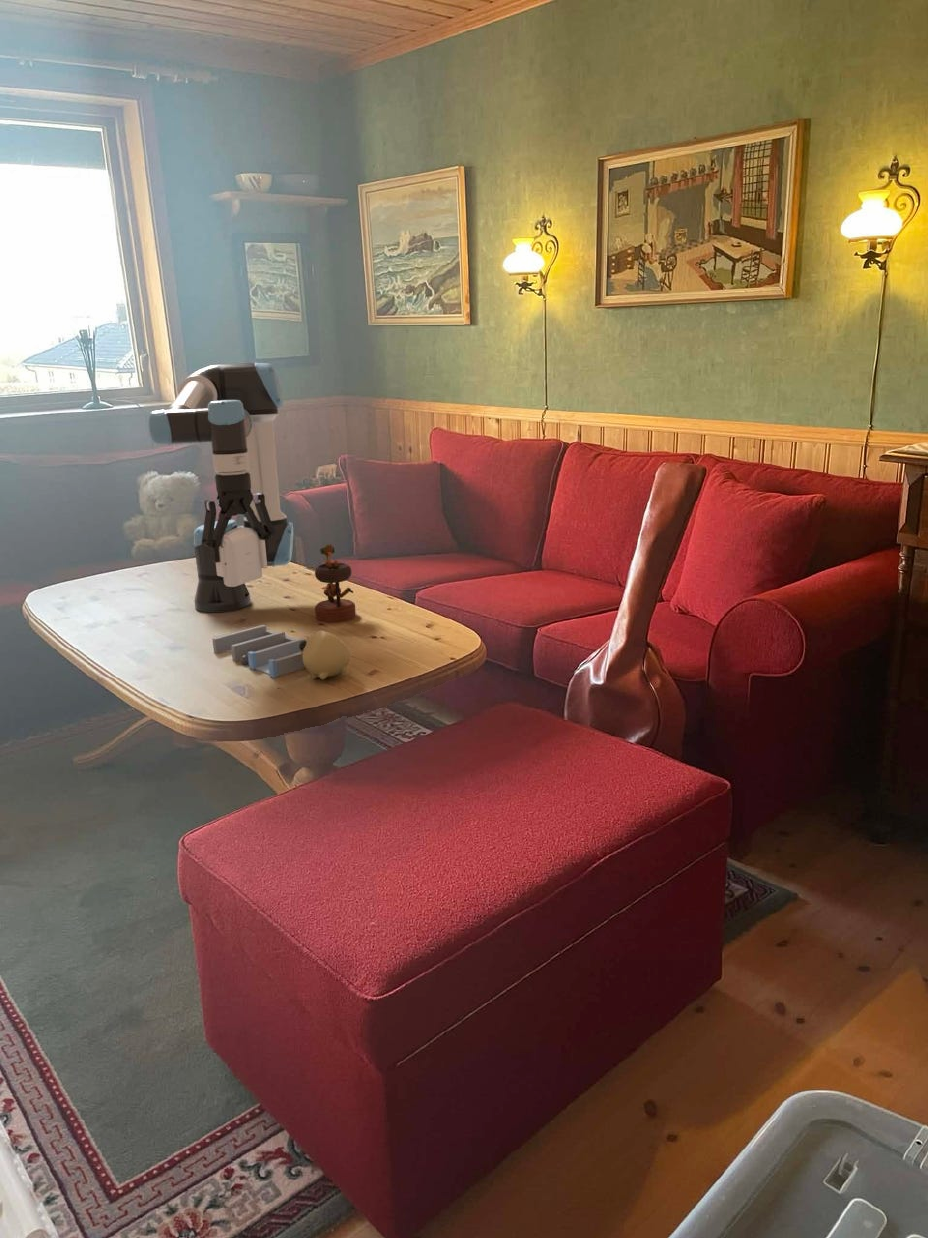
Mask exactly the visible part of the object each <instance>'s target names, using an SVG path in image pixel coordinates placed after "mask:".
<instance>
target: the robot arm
mask: <svg viewBox="0 0 928 1238" xmlns="http://www.w3.org/2000/svg"><path fill="white" fill-rule="evenodd" d="M283 406H284V401H283V394H282V389H281V384H280V381H279V376H278V373H277V370H276V368H275V366H274V365H273V364H272V363H266V362H255V361H254V362H249V363H248V362H246V363H227V364H224V363H223V364H221V363H220V364H211V365H208V366H204V367H202V368H200V369H198V370H196V371H194V372H192V373H190V374H189V375H188V376H187V377H185V378H184V379H183V380H182V382H181V384H180V385H179V389H178V395H177V396H176V397H175V399H174V400H173V401H172V403H171V404H170V405H169V407H168V408H167V409H162V408H161V409H159V410H153V411H151V412H150V413H149V415H148V429H149V435H150V438H151V440H152V441H153V443H154V444H157V445H169V446H171V445H179V444H181V445H182V444H196V443H197V444H198V443H200V444H201V443H211V448H212V461H213V470H214V472H215V473H216V474H215V476H214V479H215V480H214V481H215V489H216V492H217V496H216V499H212V500H204V508H205V516H204V522H203V524H202V525H200V526H198V527H196V528H195V529H194V531H193V548H194V554H195V562H196V569H197V570H196V571H197V579H198V581H197V585H196V592H195V597H194V608H195V610H197V611H199V612H202V613H225V612H233V611H237V610H241V609H244V608H246V607H248V606H250V605H251V603H252V600H251V594H250V592H249V590H248V587H247V585H246V583H244V584H241V585H238V586H236V587H228V586H226V585H225V584H224V578H223V577H226V569H225V560H224V551H223V548H222V547H220V544H221V541H222V538H223V536H224V534H225V533H226V532H228V531H230V530H232V529H235V528H239V527H245V528H252V529H254V530H255V531H256V532H257V534H258V538H259V548H260V558H261V568H262V569H264V570H265V569H268V567H277V566H286V565H289V563H290V562H291V560H292V555H293V546H294V545H293V544H294V543H293V542H294V524H293V522H290V521H289V522H288V517H287V515H286V514H285V513H284V512H283V511H282V510H281V500H280V488H279V486H280V485H279V476H278V465H277V455H276V443H275V442H276V441H275V432H274V421H275V419H276V418H277V417H278V415H279V413H278V411H279V409H281V408H282V407H283ZM218 506H219V507H218ZM218 508H220V509H219V510H220V511H219V514H218V519H216V518H217V510H218ZM238 515H243V516H244V517H243V524H241V525H240V524H239V525H238V523H237V522H236V520H235V519H232V517H235V516H238Z"/></svg>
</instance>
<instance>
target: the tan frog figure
mask: <svg viewBox="0 0 928 1238" xmlns="http://www.w3.org/2000/svg"><path fill="white" fill-rule="evenodd" d="M299 648H300V653H301V655H302V656H303V663H304V665H305V667H306V668H305V669H306V670H307V671H308V672H309V673H310V675H311V676H310V677H311V678H312V679H315V680H316V679H317V678H318V677H319V679H320V680H325V679H326V678H330V677H335V676H336V675H339V674H340V673H341V674H347V673H348V672H349V668H348V664H349V662H350V659H351V658H350V657H351V653H350V652H351V651H350V649H349V647H348V645H346V644H345V642H344V641H342V640H341V639H340V638H339V637H337V636H336V635H335V634H333V633H331V632H328V631H326V630H318V631H317V632H315V633H313V635H310V636H306V638H305V640H303V641H301V642H300V644H299Z"/></svg>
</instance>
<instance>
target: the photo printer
mask: <svg viewBox="0 0 928 1238" xmlns="http://www.w3.org/2000/svg"><path fill="white" fill-rule="evenodd" d="M220 547H222V548H223V551H224V560H225V569H226V577H223V578H224V584H225V585H226V586H228V587H236V586H238V585H241V584H244V583H245V584H247V583H250V582H252V581H256V580H260V579H261V578H263V570H262V569H263V568H261V558H260V548H259V538H258V534H257V532H256V531H255V530H254V529H252V528H245V527H239V528H235V529H232V530H230V531H228V532H226V533H225V534H224V536H223V538H222V541H221V544H220Z"/></svg>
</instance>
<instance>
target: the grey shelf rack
mask: <svg viewBox="0 0 928 1238" xmlns="http://www.w3.org/2000/svg"><path fill="white" fill-rule="evenodd" d="M303 640H306V638H305V637H301V638H294V637H291V636H289V635H286V631H283V630H281V631H278V632H276V631H274V630H271V629H267V625H265V624H260V625H257V626H254V627H250V628H246V629H243V630H238V631H235V632H231V633H228V634H223V635H219V636H217V637H216V636H215V637H214V638H212V646H213V647H212V648H213V653H214V654H222V653H224V652H228V651H230V650H231V657H232V661H234V662H237V661H240V662H241V663H242V664H243V665H247V664H248V668H249V670H252V671H253V670H257V671H259V672H261V673H264V674H267V675H269V677H271V678H272V679H276V678H279V677H281V676H283V675H287V674H290V673H293V672H296V671H299V670H303V669H307V668H306V667H305V665H304V663H303V656H302V655H301V653H300V648H299V644H300V642H301V641H303ZM227 650H228V651H227Z"/></svg>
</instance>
